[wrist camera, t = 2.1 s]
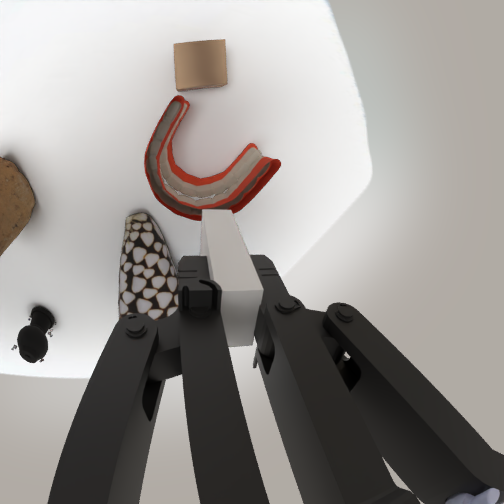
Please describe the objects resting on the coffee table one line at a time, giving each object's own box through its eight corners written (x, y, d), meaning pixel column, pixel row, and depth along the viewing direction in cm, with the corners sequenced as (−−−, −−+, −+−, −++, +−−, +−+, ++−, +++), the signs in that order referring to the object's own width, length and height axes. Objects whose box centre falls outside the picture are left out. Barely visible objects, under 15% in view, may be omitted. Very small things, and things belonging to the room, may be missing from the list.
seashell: (209, 286, 41) (218, 335, 33) (147, 322, 42) (144, 370, 34) (142, 203, 32) (129, 240, 24) (77, 253, 33) (55, 298, 25)
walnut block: (177, 91, 26) (176, 89, 22) (175, 52, 24) (173, 43, 19) (221, 86, 27) (227, 84, 23) (219, 48, 24) (225, 39, 20)
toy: (132, 169, 30) (117, 189, 23) (177, 94, 26) (174, 92, 20) (216, 214, 36) (224, 245, 29) (263, 149, 32) (284, 164, 26)
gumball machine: (31, 322, 37) (15, 363, 28) (25, 298, 34) (5, 340, 26) (60, 330, 39) (47, 373, 31) (56, 307, 37) (39, 351, 28)
